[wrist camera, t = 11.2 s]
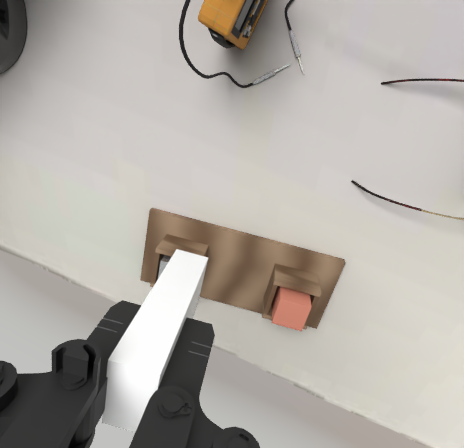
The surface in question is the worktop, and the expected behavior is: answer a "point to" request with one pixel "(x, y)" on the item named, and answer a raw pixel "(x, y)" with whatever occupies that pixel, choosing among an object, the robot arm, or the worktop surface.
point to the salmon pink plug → (290, 308)
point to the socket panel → (241, 264)
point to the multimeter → (232, 28)
